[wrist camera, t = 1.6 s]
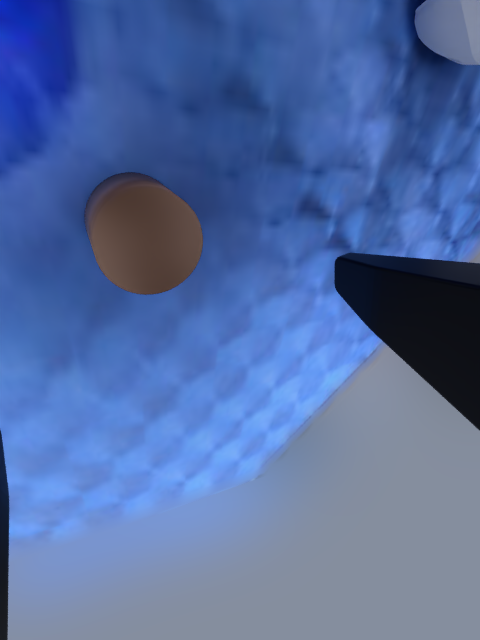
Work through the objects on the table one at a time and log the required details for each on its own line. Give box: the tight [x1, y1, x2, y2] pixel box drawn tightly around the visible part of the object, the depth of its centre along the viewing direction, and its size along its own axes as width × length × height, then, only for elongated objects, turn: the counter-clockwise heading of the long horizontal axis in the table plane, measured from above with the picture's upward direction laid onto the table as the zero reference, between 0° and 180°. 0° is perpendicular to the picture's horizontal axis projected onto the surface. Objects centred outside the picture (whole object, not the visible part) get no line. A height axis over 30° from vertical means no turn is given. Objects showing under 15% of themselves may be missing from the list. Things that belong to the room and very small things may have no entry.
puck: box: [84, 172, 203, 295], centre depth 18 cm, size 5×5×4 cm
